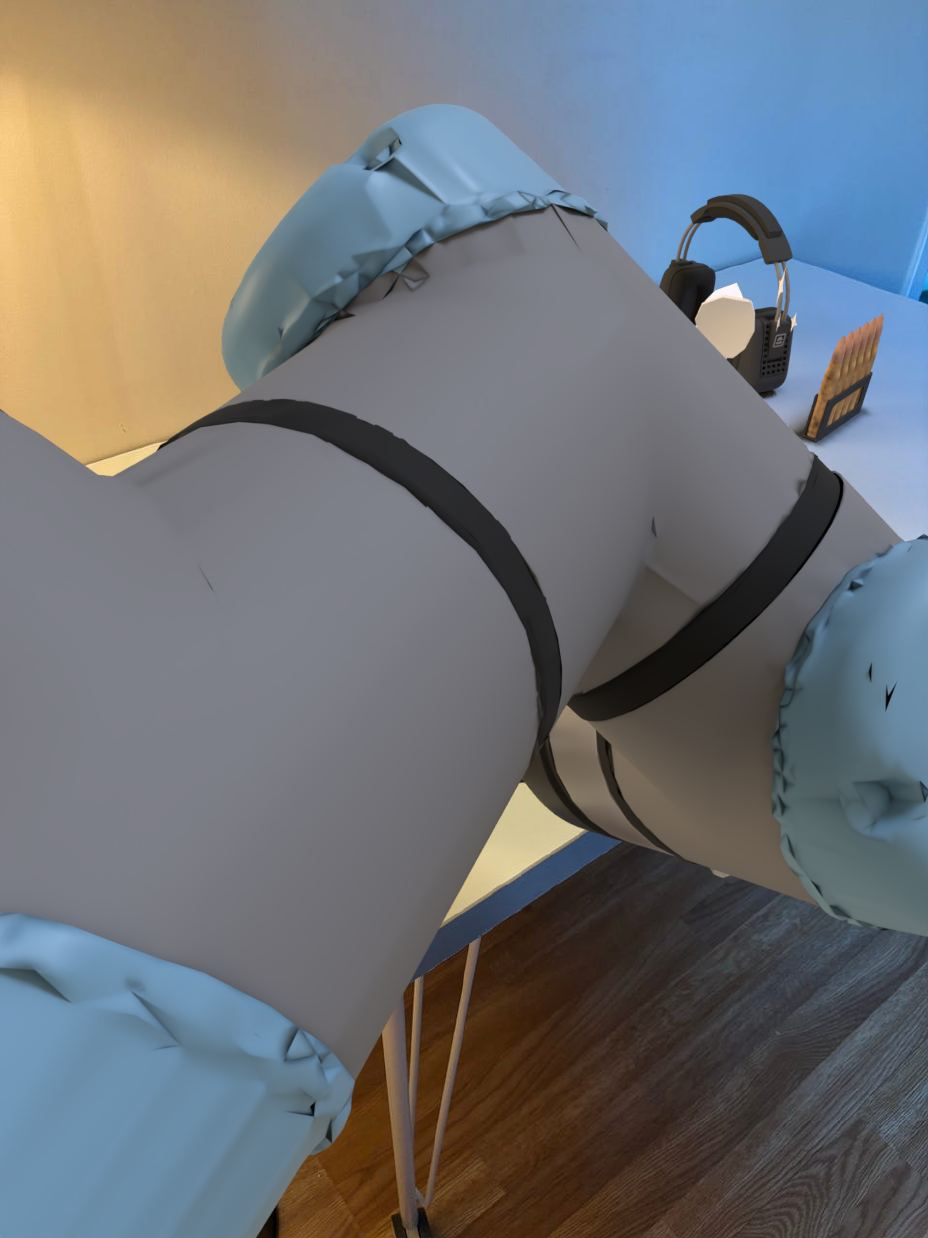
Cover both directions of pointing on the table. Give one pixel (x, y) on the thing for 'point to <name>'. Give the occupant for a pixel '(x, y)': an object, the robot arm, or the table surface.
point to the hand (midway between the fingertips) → (480, 721)
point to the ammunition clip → (844, 381)
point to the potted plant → (729, 319)
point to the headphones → (767, 346)
